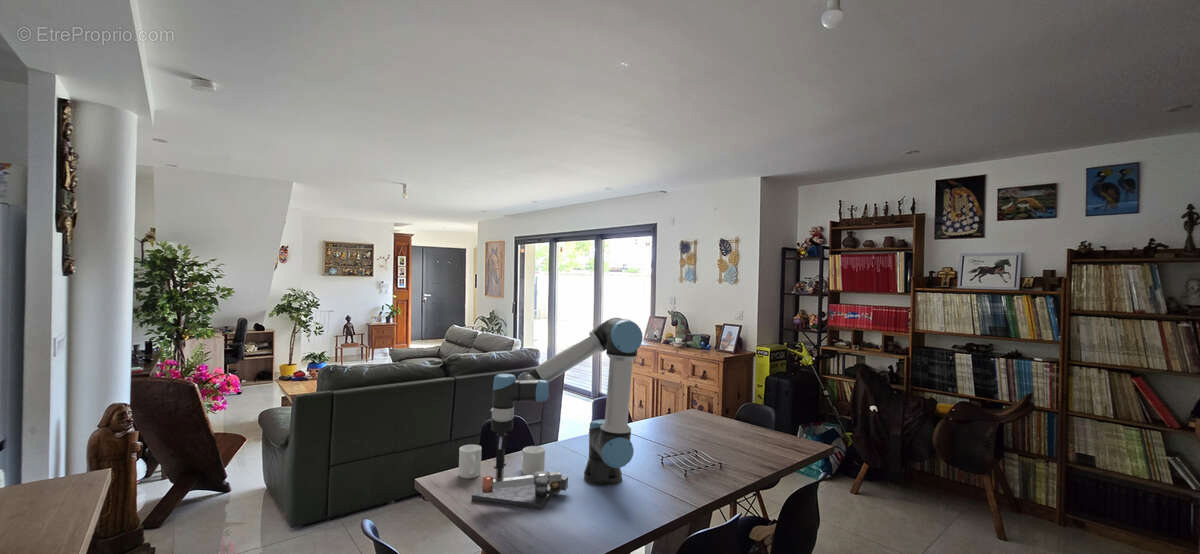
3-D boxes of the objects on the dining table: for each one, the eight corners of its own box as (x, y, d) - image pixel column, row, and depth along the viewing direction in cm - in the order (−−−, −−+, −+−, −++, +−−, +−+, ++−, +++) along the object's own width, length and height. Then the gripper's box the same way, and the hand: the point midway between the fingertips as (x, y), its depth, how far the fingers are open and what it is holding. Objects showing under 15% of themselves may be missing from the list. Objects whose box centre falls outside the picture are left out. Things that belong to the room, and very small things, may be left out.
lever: (557, 478, 181) (558, 466, 181) (562, 484, 175) (562, 472, 176) (481, 488, 171) (481, 475, 171) (483, 495, 165) (484, 482, 165)
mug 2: (548, 473, 200) (549, 450, 200) (529, 478, 194) (530, 454, 195) (532, 464, 209) (533, 442, 210) (514, 469, 204) (514, 446, 204)
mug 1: (462, 483, 188) (463, 455, 188) (456, 472, 198) (457, 446, 199) (485, 480, 192) (486, 452, 192) (477, 469, 202) (478, 443, 203)
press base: (567, 492, 182) (567, 476, 182) (553, 511, 166) (554, 493, 166) (491, 483, 189) (492, 467, 189) (471, 500, 173) (472, 483, 173)
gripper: (493, 413, 179) (490, 478, 178) (489, 423, 166) (486, 493, 165) (514, 413, 179) (510, 478, 179) (512, 424, 167) (508, 493, 166)
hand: (499, 485), depth 172 cm, fingers closed
